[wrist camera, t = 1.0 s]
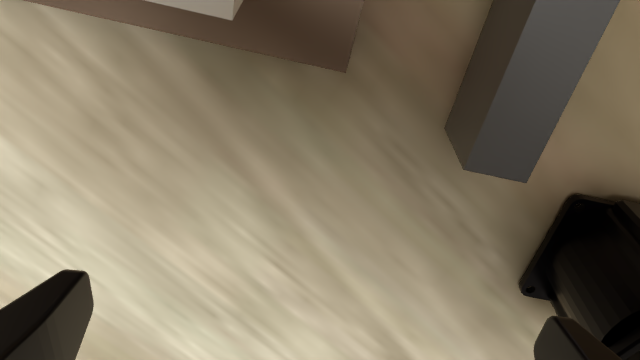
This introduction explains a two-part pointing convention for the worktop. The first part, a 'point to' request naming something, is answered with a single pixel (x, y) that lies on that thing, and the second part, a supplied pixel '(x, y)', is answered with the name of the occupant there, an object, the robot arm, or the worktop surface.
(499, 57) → the dark grey pillar block
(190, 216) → the worktop surface
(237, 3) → the tile
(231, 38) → the walnut board
